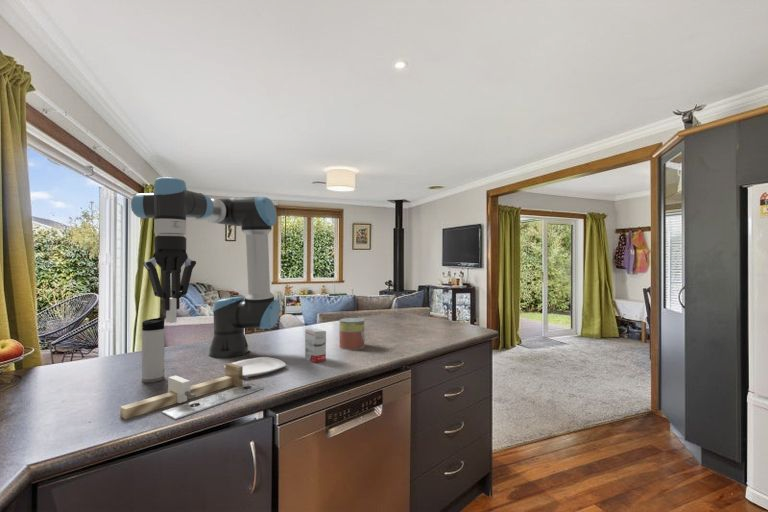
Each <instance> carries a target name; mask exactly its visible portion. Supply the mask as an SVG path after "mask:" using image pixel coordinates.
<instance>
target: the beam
mask: <svg viewBox="0 0 768 512" xmlns="http://www.w3.org/2000/svg"><path fill="white" fill-rule="evenodd" d="M232 363H233V362H228V363H225V364H224V365H225V367H224V369H225V370H224V371H225V372H224V373H225V375H224V376H222V377H217V378H213V379H210V380H207V381H204V382H201V383H195V384H193V385H190V392H191V393H193V394H195V397H194V398H197V397H200V396H203V395H207V394H209V393H213V392H217V391H219V390H222V389H224V388H229V387H232V386H234V387H238V386H242V385H244V384H243V381H246V382H247V381H249V377H246V376H243V367H242V366H239V365H235V364H232ZM191 399H192V398H191V397H188V396H187V401H188V400H191ZM174 404H179V403H178V402H177V393H175V392H173V391H172V392H169V393H168V392H165V393H162V394H159V395H156V396H152V397H148V398H145V399H142V400H141V399H140V400H138V401H134V402H131V403H128V404H125V405H121V406H120V408H119V409H120V414H119V415H120V417H121V418H122V419H124V420H127V419H128V420H129V419H131V418H134V417H137V416H140V415H144V414H147V413H149V412H153V411H157V410H159V409H162V408H165V407H169V406H172V405H174Z"/></svg>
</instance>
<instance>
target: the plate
mask: <svg viewBox="0 0 768 512" xmlns="http://www.w3.org/2000/svg"><path fill="white" fill-rule="evenodd" d="M231 363H232V364H235V365H239V366H242V367H243V376H246V377H248V378H250V377H258V376H262V375H266V374H269V373H273V372H276V371H279V370H280V369H281V368H284V367H287V364H286V363H285V362H284V361H283V360H281V359H278V358H274V357H267V356H260V357H258V356H257V357H253V358H246V359H240V360H238V361H234V362H231ZM223 366H224V368H225V364H224V365H223Z"/></svg>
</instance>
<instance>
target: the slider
mask: <svg viewBox="0 0 768 512" xmlns="http://www.w3.org/2000/svg"><path fill="white" fill-rule="evenodd" d="M167 381H168V383H167V384H168V386H167V387H168V388H167V393H169V392H172V391H173V392H175V393H177V402H178V403H177V404H181V403H185V402H187V401H188V400H187V396H188V397H191V399H195V398H196V397H195V394H193V393H191V392H190V386H191V380H188V379H186V378H184V377H181V376H178V375H176V374H175V375H172V376H168V380H167Z"/></svg>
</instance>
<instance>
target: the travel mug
mask: <svg viewBox="0 0 768 512" xmlns="http://www.w3.org/2000/svg"><path fill="white" fill-rule="evenodd" d="M141 324H142V325H141V326H142V327H141V381H142V383H145V382H146V384H148V383H147V382H151V383H156V381H157V382H159V381H163V380H164V379H165V317H162V316H160V317H157V318H155V317H154V318H150V319H147V320H144V321H142V322H141Z"/></svg>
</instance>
